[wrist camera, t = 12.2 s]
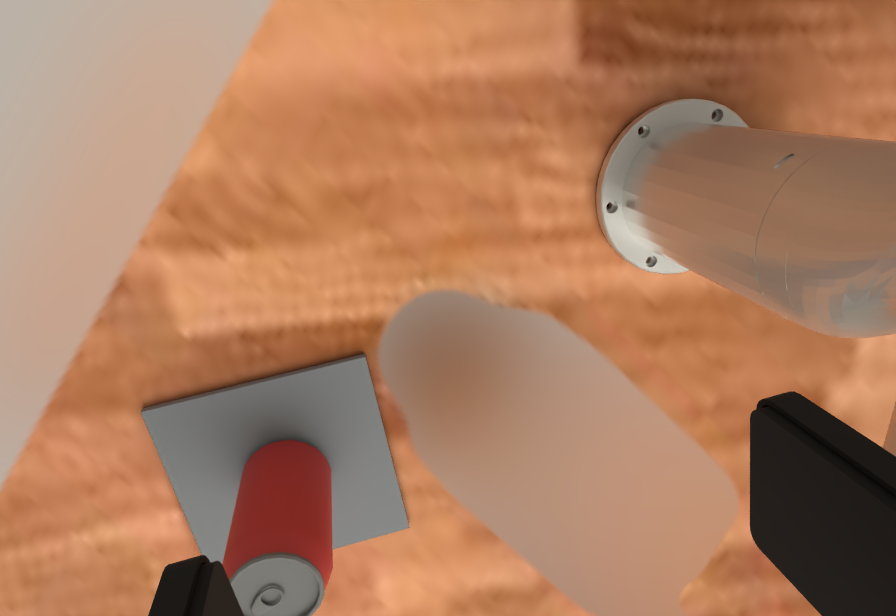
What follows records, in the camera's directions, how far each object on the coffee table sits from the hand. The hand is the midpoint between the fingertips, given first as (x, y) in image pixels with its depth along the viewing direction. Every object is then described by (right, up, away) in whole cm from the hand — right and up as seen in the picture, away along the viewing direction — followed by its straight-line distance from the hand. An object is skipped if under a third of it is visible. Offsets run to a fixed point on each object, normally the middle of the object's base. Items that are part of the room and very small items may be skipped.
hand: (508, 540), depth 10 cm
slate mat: (-13, -9, +36) cm, 40 cm away
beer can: (-13, -9, +36) cm, 39 cm away
